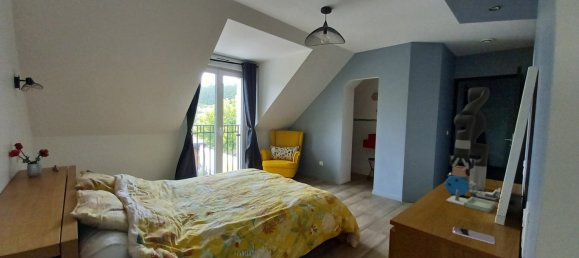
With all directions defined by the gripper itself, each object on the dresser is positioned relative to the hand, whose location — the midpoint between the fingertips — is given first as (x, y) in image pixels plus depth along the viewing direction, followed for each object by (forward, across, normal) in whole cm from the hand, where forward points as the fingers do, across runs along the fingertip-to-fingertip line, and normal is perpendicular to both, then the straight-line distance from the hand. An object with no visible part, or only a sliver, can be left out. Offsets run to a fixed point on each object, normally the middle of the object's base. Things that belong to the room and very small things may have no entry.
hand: (460, 173), depth 150 cm
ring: (+1, 0, 0) cm, 1 cm away
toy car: (+18, -8, -22) cm, 30 cm away
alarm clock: (+18, +4, -11) cm, 21 cm away
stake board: (+17, 0, +1) cm, 17 cm away
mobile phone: (+18, -18, +45) cm, 51 cm away
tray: (+17, -11, +1) cm, 21 cm away
